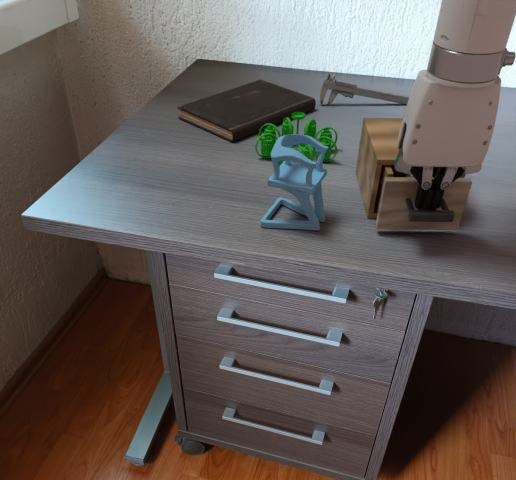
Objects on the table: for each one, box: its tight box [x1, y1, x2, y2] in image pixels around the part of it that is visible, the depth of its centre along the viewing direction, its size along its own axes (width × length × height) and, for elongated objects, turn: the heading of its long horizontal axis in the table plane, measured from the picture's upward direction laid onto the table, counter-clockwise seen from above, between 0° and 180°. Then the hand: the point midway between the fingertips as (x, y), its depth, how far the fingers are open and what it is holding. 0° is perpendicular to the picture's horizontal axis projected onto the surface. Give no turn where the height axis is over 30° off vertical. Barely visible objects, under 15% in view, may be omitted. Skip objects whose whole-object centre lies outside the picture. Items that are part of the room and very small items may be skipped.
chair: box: [260, 133, 328, 231], centre depth 73 cm, size 8×8×12 cm
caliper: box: [319, 72, 410, 107], centre depth 108 cm, size 20×1×6 cm, turn 93°
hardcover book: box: [177, 79, 317, 143], centre depth 105 cm, size 16×23×2 cm
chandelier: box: [254, 112, 338, 167], centre depth 91 cm, size 15×15×7 cm
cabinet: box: [355, 117, 466, 219], centre depth 80 cm, size 15×13×9 cm
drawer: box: [375, 165, 473, 231], centre depth 75 cm, size 18×11×7 cm, turn 179°
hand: (425, 212), depth 70 cm, fingers closed
